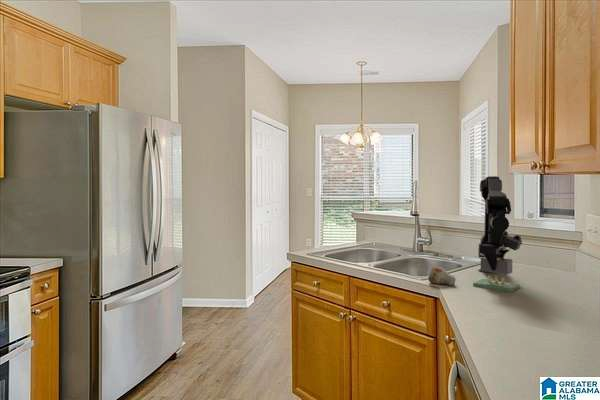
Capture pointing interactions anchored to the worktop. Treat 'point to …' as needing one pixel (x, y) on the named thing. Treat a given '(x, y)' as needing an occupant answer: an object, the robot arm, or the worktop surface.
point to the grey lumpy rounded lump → (441, 276)
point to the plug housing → (497, 266)
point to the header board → (496, 284)
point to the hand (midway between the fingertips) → (496, 269)
